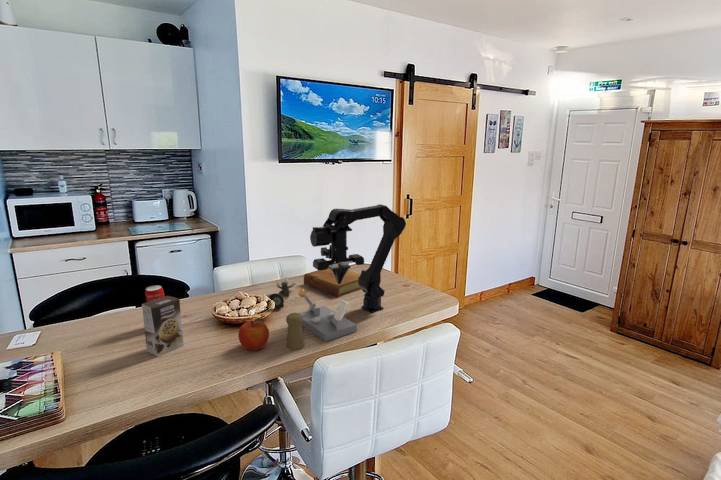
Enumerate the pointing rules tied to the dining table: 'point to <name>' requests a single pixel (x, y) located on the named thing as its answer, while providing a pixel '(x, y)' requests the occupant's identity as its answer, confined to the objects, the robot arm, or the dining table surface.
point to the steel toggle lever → (306, 298)
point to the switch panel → (326, 323)
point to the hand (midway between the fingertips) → (338, 283)
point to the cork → (294, 332)
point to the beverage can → (154, 292)
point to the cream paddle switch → (340, 311)
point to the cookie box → (162, 325)
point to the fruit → (253, 334)
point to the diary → (332, 282)
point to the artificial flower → (278, 298)
